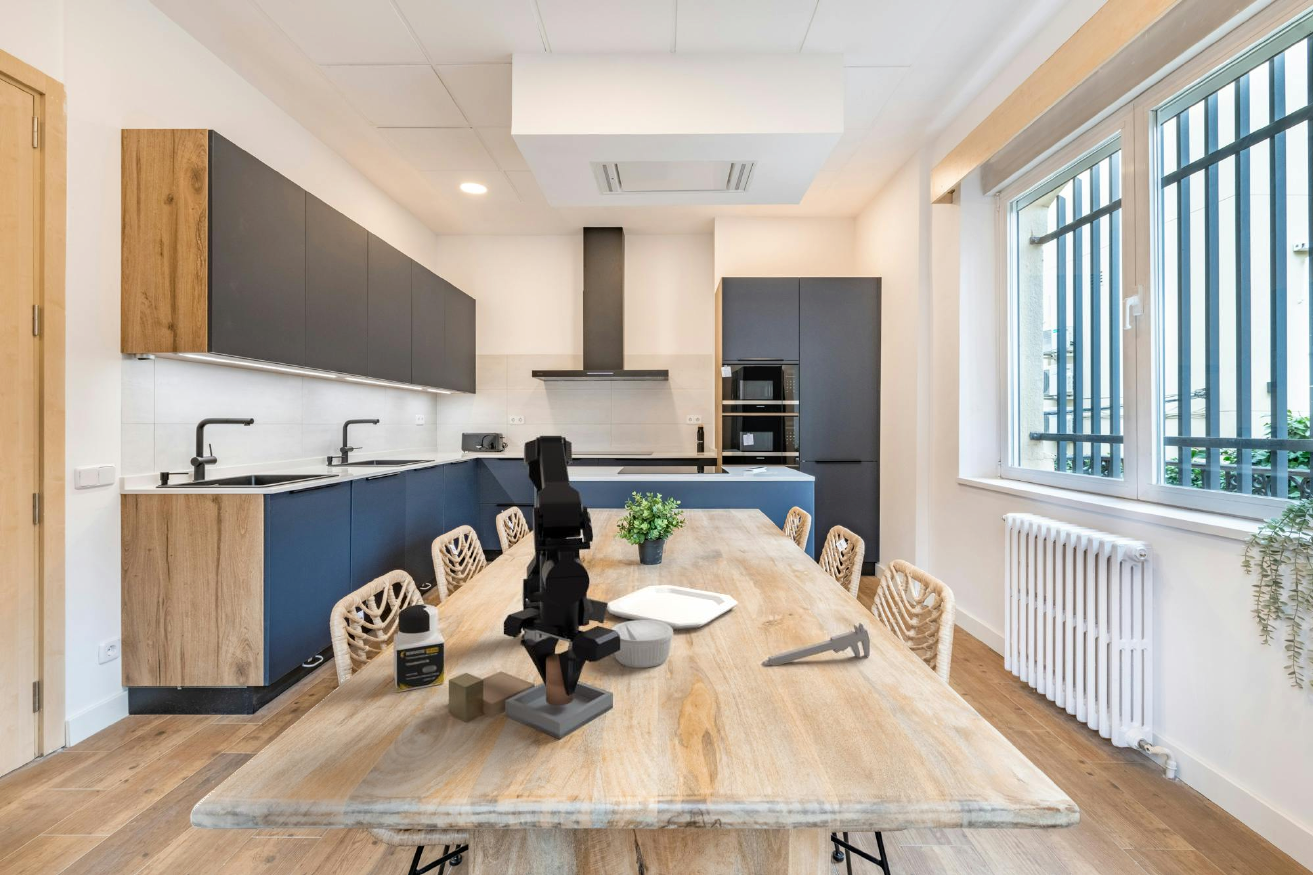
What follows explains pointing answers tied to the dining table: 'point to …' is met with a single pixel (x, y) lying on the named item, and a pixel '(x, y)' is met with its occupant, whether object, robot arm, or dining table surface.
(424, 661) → the medicine bottle
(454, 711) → the rectangular block
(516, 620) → the robot arm
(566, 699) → the dowel
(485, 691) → the board
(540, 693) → the tray
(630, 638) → the ramekin
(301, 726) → the dining table surface
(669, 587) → the plate
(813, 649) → the caliper
